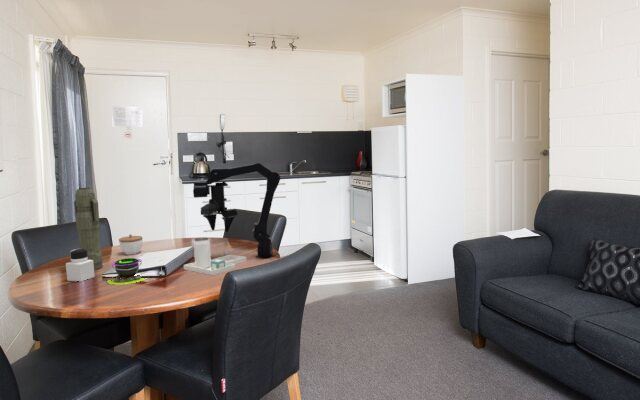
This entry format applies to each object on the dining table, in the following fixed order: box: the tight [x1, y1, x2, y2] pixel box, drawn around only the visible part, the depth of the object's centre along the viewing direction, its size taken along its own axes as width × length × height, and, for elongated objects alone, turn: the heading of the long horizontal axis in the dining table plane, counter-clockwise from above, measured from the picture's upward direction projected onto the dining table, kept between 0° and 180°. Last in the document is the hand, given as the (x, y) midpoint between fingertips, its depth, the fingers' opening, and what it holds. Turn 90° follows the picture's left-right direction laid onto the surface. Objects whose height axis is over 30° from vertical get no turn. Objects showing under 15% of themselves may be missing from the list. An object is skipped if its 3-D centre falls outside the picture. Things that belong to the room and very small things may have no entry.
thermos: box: [73, 187, 104, 271], centre depth 202 cm, size 9×12×35 cm
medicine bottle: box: [65, 248, 96, 283], centre depth 187 cm, size 7×7×12 cm
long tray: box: [183, 259, 237, 276], centre depth 195 cm, size 12×18×2 cm
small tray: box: [212, 254, 248, 265], centre depth 205 cm, size 10×10×2 cm
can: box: [193, 237, 212, 269], centre depth 197 cm, size 6×6×12 cm
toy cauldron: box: [107, 253, 148, 286], centre depth 184 cm, size 15×15×11 cm
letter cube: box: [211, 259, 225, 270], centre depth 191 cm, size 4×4×4 cm
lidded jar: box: [118, 234, 143, 256], centre depth 231 cm, size 11×11×9 cm
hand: (219, 231), depth 211 cm, fingers open, 9 cm apart
